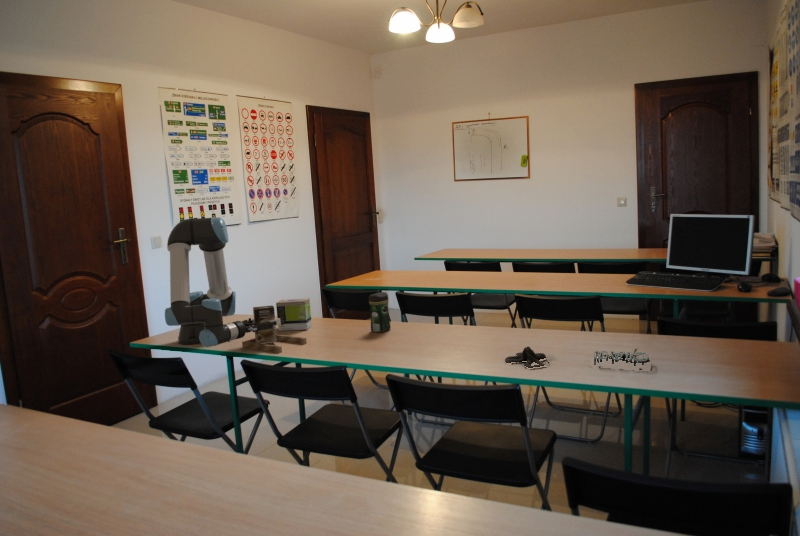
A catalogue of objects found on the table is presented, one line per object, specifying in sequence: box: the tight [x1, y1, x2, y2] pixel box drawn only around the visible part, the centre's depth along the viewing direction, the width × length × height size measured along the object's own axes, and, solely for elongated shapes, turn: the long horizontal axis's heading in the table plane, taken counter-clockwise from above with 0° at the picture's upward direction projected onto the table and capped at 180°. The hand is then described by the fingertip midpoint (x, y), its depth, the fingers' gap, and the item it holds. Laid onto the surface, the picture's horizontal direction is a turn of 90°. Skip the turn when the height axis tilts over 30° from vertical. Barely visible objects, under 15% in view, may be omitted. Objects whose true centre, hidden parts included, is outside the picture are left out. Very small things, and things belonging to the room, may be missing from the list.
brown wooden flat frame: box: [241, 333, 308, 354], centre depth 264 cm, size 24×17×2 cm
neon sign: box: [593, 350, 651, 366], centre depth 216 cm, size 21×4×29 cm
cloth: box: [504, 346, 547, 368], centre depth 219 cm, size 22×19×6 cm
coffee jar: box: [368, 291, 391, 334], centre depth 280 cm, size 10×8×19 cm
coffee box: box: [252, 305, 277, 344], centre depth 266 cm, size 9×6×16 cm
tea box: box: [275, 297, 313, 332], centre depth 295 cm, size 15×10×15 cm, turn 84°
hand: (271, 320), depth 269 cm, fingers closed on coffee box, 10 cm apart
